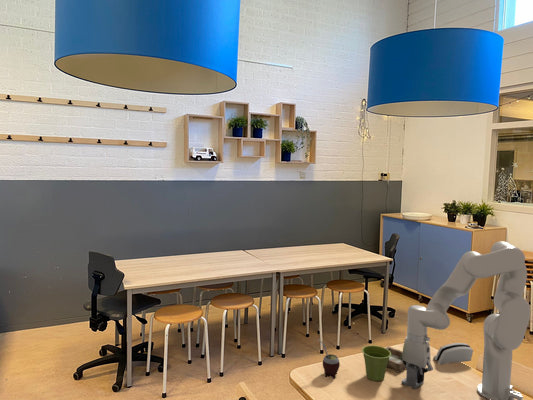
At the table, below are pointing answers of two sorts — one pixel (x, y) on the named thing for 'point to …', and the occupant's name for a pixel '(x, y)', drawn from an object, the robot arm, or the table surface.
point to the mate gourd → (330, 364)
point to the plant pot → (376, 361)
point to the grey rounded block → (454, 353)
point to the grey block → (412, 376)
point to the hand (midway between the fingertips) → (414, 379)
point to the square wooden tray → (395, 360)
